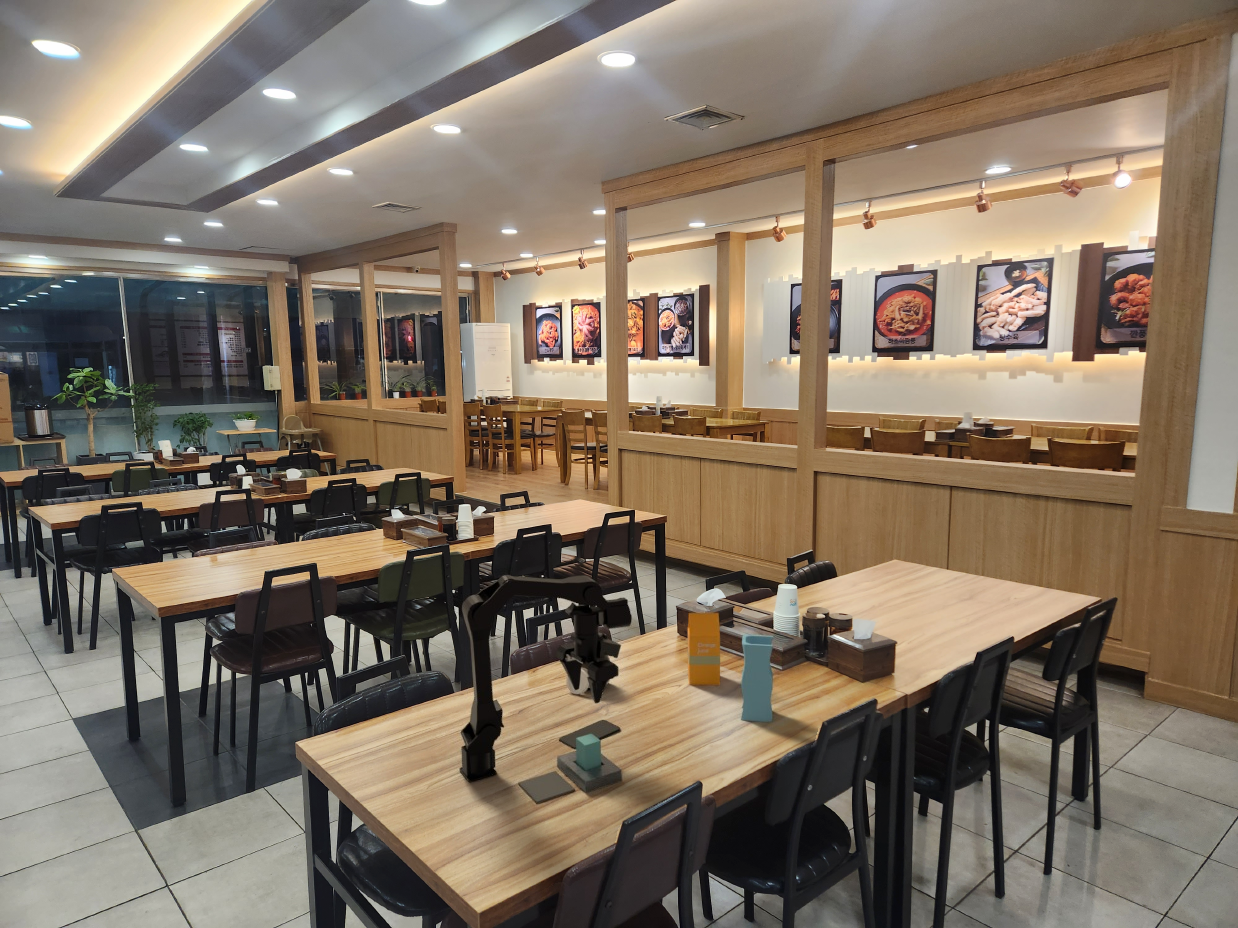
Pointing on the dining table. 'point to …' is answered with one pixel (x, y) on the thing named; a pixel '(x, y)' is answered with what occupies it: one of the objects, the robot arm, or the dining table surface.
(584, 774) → the gray rectangular frame
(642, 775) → the dining table surface
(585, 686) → the spread jar
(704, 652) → the orange juice
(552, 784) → the dark gray square pad
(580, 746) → the teal square block
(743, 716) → the vase
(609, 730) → the smartphone
